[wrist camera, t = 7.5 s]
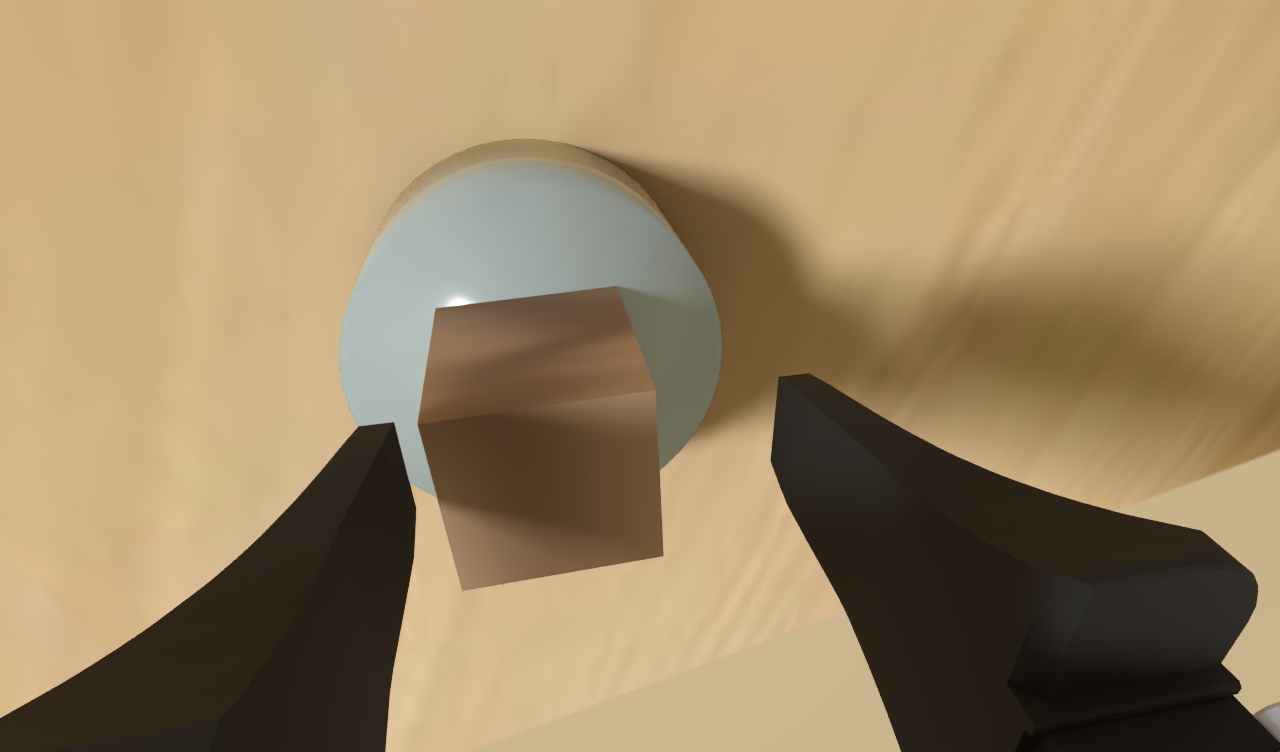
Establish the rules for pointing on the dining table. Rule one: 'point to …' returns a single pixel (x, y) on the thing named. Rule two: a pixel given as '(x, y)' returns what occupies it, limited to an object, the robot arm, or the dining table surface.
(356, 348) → the grey rounded dome
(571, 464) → the walnut block
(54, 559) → the dining table surface
